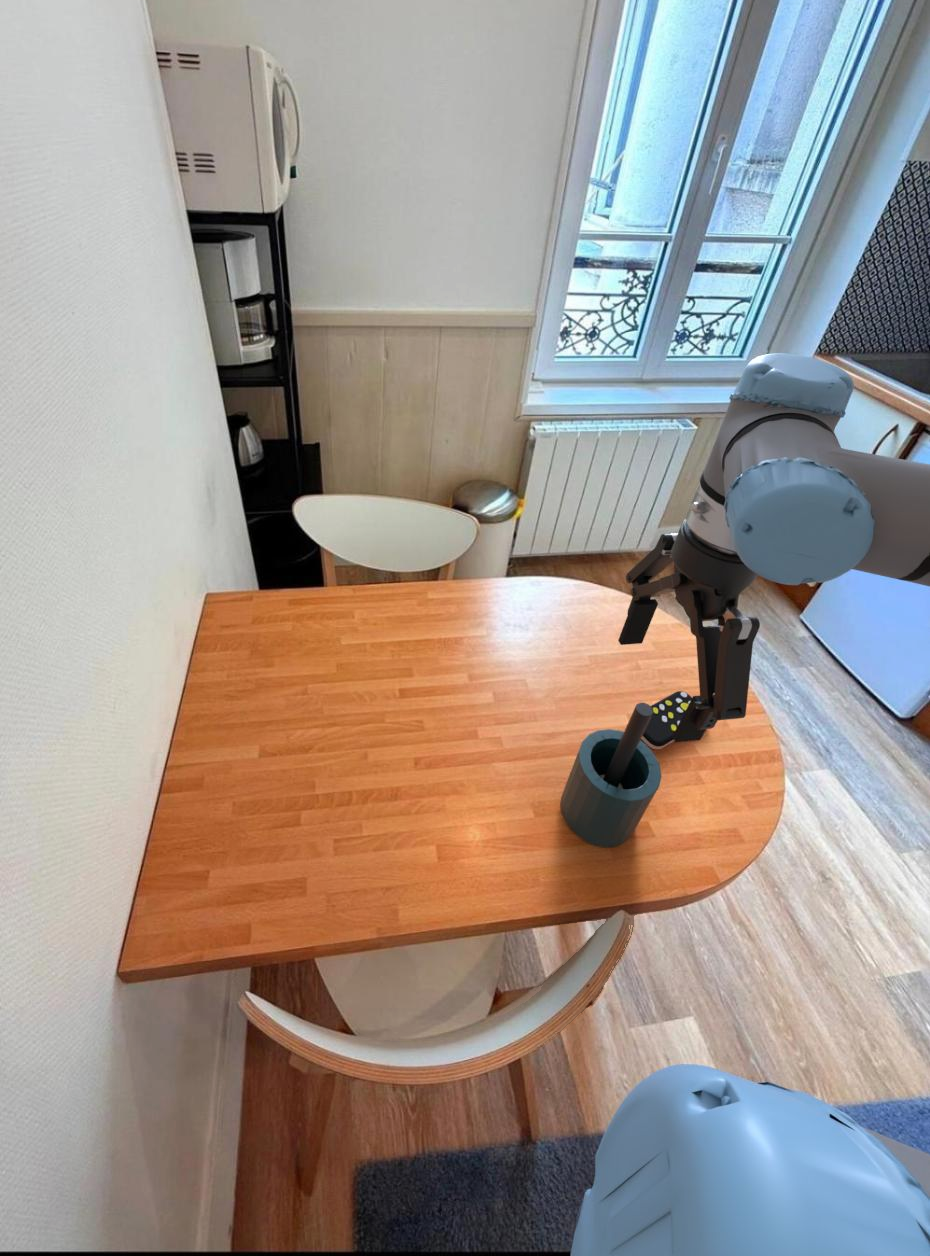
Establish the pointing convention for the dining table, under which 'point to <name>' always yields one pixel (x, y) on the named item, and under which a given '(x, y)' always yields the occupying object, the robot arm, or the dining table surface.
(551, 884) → the dining table surface
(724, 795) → the dining table surface
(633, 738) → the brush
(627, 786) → the jar
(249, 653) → the dining table surface
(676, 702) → the remote control
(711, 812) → the dining table surface
